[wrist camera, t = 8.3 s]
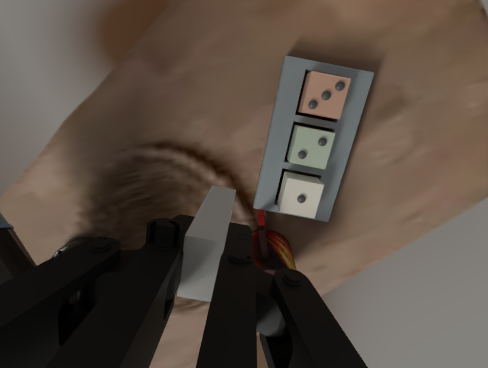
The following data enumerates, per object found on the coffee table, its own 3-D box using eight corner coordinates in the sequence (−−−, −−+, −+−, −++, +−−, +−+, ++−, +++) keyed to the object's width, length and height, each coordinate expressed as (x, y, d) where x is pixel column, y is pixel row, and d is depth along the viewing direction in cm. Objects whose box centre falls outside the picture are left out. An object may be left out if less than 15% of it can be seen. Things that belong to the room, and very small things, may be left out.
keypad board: (253, 202, 45) (253, 207, 43) (283, 58, 39) (285, 55, 36) (324, 216, 45) (328, 222, 43) (367, 74, 39) (374, 72, 36)
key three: (297, 111, 40) (302, 111, 36) (306, 74, 38) (312, 70, 34) (331, 118, 40) (340, 119, 36) (341, 81, 38) (351, 78, 34)
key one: (277, 202, 43) (279, 212, 38) (284, 171, 41) (287, 178, 37) (309, 208, 43) (314, 219, 38) (317, 177, 41) (324, 185, 37)
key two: (286, 157, 42) (289, 163, 38) (294, 124, 41) (298, 126, 36) (318, 163, 42) (325, 170, 38) (327, 131, 41) (336, 133, 36)
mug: (262, 202, 45) (263, 233, 34) (301, 259, 48) (314, 306, 37) (218, 228, 47) (206, 266, 36) (258, 282, 50) (258, 333, 39)
